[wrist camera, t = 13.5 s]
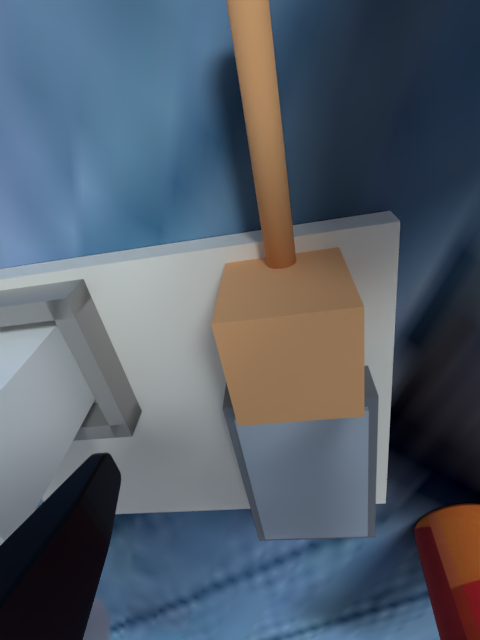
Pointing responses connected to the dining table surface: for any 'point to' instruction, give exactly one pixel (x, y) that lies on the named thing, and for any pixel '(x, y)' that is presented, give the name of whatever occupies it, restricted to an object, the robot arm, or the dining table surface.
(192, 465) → the board
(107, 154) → the dining table surface
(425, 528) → the paper cup
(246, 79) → the cable plug
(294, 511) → the grey piece
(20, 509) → the block
